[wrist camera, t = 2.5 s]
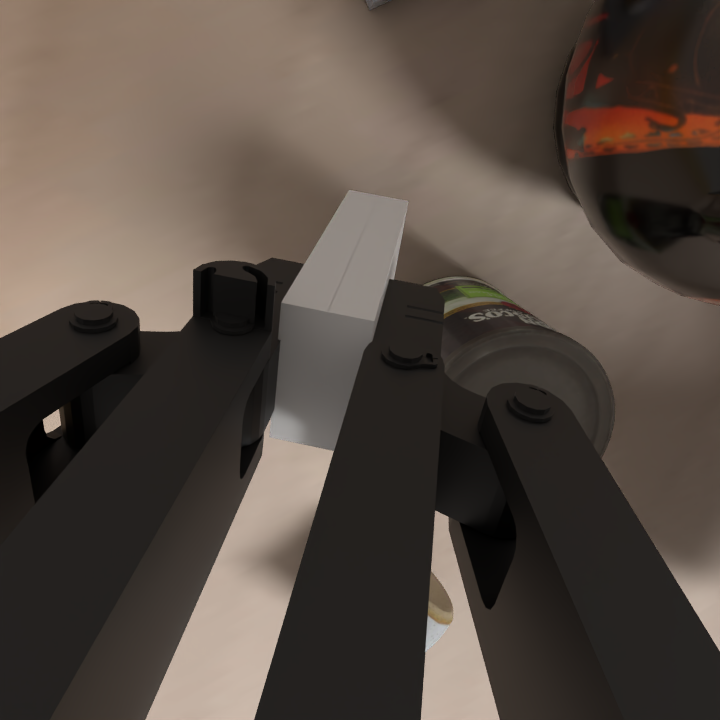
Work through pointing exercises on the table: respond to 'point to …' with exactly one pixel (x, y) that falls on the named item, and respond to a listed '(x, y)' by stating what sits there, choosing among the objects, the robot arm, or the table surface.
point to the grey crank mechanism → (375, 3)
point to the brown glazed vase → (648, 137)
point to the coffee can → (520, 354)
